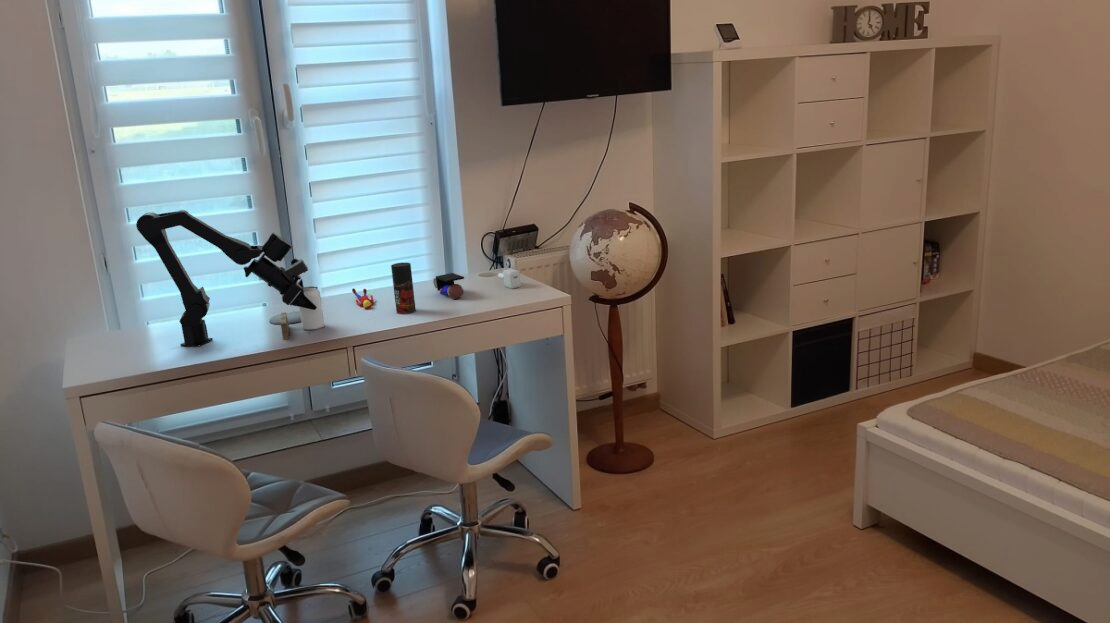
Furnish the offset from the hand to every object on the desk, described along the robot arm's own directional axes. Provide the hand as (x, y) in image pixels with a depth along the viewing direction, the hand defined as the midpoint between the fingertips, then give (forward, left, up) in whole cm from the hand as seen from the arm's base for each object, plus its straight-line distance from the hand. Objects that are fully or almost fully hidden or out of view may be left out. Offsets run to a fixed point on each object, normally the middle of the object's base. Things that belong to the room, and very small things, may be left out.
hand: (315, 305), depth 253 cm
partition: (-7, +7, -7) cm, 12 cm away
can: (-1, +1, -7) cm, 7 cm away
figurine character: (+37, -28, -7) cm, 47 cm away
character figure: (+28, -1, -7) cm, 29 cm away
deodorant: (+17, -21, -7) cm, 28 cm away
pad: (+8, +14, -7) cm, 18 cm away
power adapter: (+51, -44, -7) cm, 67 cm away
